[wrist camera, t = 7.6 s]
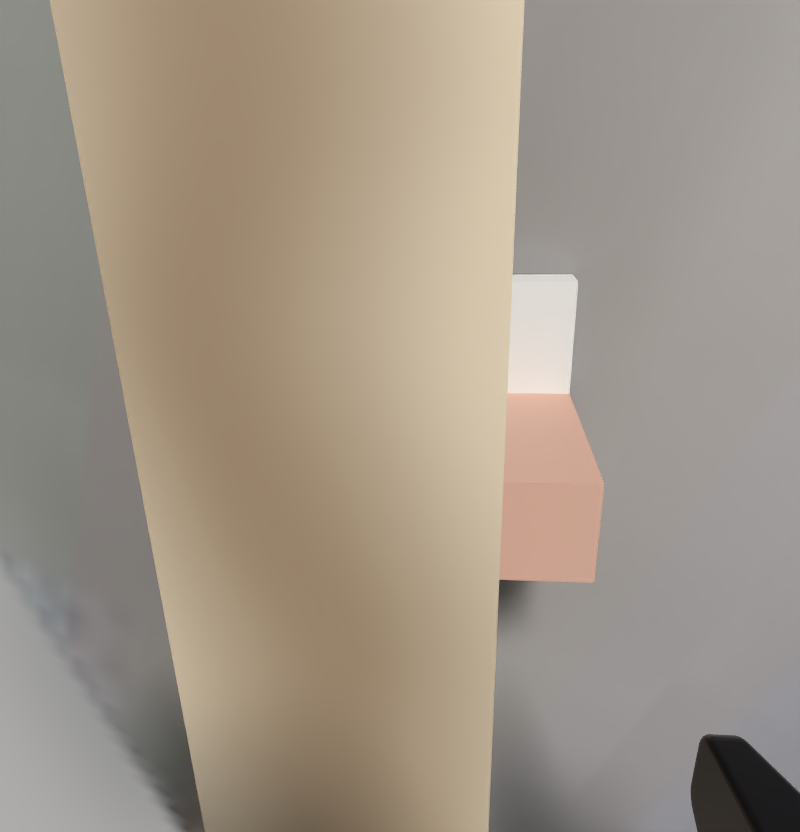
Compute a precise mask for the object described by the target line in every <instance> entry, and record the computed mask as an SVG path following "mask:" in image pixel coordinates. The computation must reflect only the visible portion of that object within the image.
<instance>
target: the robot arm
mask: <svg viewBox="0 0 800 832" xmlns="http://www.w3.org/2000/svg"><path fill="white" fill-rule="evenodd" d="M691 802H692V808H693V813H694V817H695V822H696V827H697V831H698V832H800V793H799V792H798V791H797V790H796V789H795V788H794V787H793V786H792V785H791V784H790V783H789V782H788V781H787V780H786V779H785V778H784V777H783V776H782V775H781V774H780V773H779V772H778V771H777V770H776V769H775V768H774V767H773V766H771V765H770V764H769V763H768V762H767V761H766V760H765V759H764V758H763V757H762V756H761V755H760V754H759V753H758V752H757V751H756V750H755V749H754V748H753V747H752V746H751V745H750V744H749V743H748V742H747V741H745V740H744V739H742V738H741V737H738V736H733V735H712V734H708V735H705V736H703V737H702V739H701V740H700V743H699V747H698V752H697V757H696V762H695V768H694V773H693V778H692V783H691Z"/></svg>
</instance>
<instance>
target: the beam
mask: <svg viewBox="0 0 800 832" xmlns="http://www.w3.org/2000/svg"><path fill="white" fill-rule="evenodd" d="M50 3H51V9H52V14H53V19H54V25H55V30H56V35H57V41H58V46H59V51H60V57H61V62H62V68H63V73H64V78H65V84H66V89H67V94H68V100H69V105H70V111H71V116H72V121H73V127H74V132H75V137H76V143H77V148H78V153H79V159H80V164H81V170H82V175H83V180H84V186H85V191H86V196H87V202H88V207H89V213H90V218H91V223H92V229H93V234H94V239H95V245H96V250H97V255H98V261H99V266H100V272H101V277H102V282H103V288H104V293H105V298H106V304H107V309H108V314H109V320H110V325H111V331H112V336H113V341H114V347H115V352H116V357H117V363H118V368H119V374H120V379H121V384H122V390H123V395H124V400H125V406H126V411H127V416H128V422H129V427H130V433H131V438H132V443H133V449H134V454H135V459H136V465H137V470H138V475H139V481H140V486H141V492H142V497H143V502H144V508H145V513H146V518H147V524H148V529H149V535H150V540H151V545H152V551H153V556H154V561H155V567H156V572H157V577H158V583H159V588H160V594H161V599H162V604H163V610H164V615H165V620H166V626H167V631H168V636H169V642H170V647H171V653H172V658H173V663H174V669H175V674H176V679H177V685H178V690H179V696H180V701H181V706H182V712H183V717H184V722H185V728H186V733H187V738H188V744H189V749H190V755H191V760H192V765H193V771H194V776H195V781H196V787H197V792H198V797H199V803H200V808H201V814H202V819H203V824H204V830H205V832H488V828H489V805H490V782H491V759H492V736H493V712H494V689H495V666H496V643H497V620H498V597H499V574H500V551H501V528H502V505H503V482H504V459H505V436H506V413H507V390H508V367H509V344H510V321H511V298H512V275H513V252H514V229H515V206H516V183H517V160H518V137H519V114H520V91H521V68H522V45H523V22H524V0H50Z"/></svg>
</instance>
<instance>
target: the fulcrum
mask: <svg viewBox="0 0 800 832" xmlns="http://www.w3.org/2000/svg"><path fill="white" fill-rule="evenodd" d="M577 290H578V281H577V280H576V278H575V277H574V276H573V274H535V275H512V298H511V321H510V344H509V367H508V390H507V413H506V436H505V459H504V482H503V505H502V528H501V551H500V574H499V580H523V581H554V582H586V583H594V580H595V570H596V561H597V551H598V542H599V532H600V523H601V513H602V504H603V494H604V485H605V484H604V481H603V479H602V476H601V474H600V471H599V469H598V466H597V463H596V461H595V458H594V456H593V453H592V451H591V448H590V445H589V443H588V440H587V438H586V435H585V433H584V430H583V427H582V425H581V422H580V420H579V417H578V415H577V412H576V409H575V407H574V404H573V402H572V399H571V397H570V394H569V392H570V379H571V367H572V354H573V341H574V329H575V316H576V303H577Z"/></svg>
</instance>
